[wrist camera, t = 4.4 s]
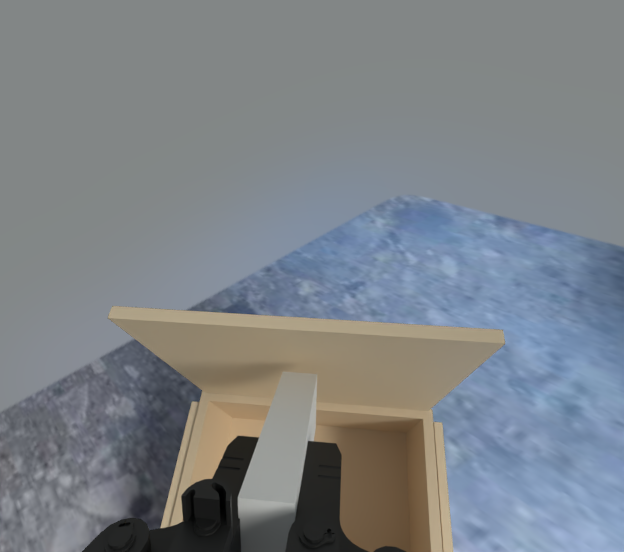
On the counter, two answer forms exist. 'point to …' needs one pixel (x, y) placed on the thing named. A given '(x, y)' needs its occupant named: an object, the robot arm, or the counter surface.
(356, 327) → the flap
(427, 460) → the wooden box
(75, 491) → the counter surface
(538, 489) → the counter surface
